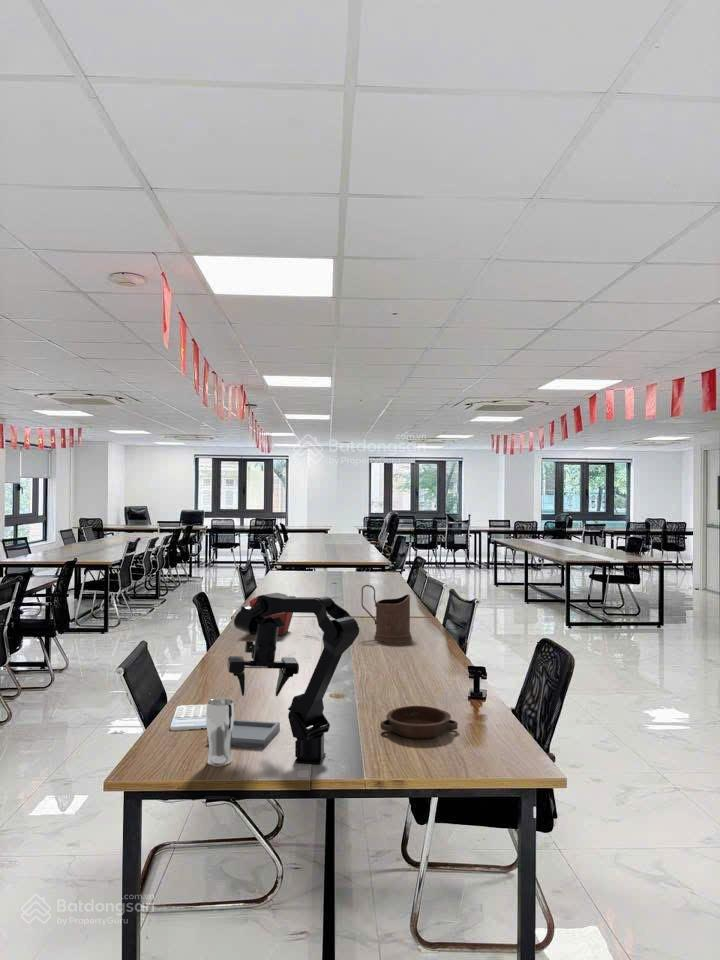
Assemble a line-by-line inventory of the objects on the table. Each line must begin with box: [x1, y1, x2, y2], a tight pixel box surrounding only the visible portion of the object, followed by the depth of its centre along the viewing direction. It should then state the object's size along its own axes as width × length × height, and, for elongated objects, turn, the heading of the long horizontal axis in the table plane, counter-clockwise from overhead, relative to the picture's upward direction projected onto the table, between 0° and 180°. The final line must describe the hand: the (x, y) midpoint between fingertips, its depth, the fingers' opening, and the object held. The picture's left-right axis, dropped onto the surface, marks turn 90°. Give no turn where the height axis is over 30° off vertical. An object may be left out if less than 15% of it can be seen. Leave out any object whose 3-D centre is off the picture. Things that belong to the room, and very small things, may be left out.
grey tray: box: [206, 719, 281, 749], centre depth 191 cm, size 16×14×2 cm
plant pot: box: [249, 595, 296, 636], centre depth 334 cm, size 19×19×17 cm
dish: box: [379, 705, 459, 740], centre depth 196 cm, size 18×22×5 cm
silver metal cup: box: [206, 697, 235, 767], centre depth 174 cm, size 7×7×15 cm
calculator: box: [169, 703, 207, 731], centre depth 207 cm, size 13×20×2 cm, turn 9°
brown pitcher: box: [361, 584, 413, 643], centre depth 323 cm, size 18×24×25 cm
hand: (259, 695), depth 187 cm, fingers open, 9 cm apart
